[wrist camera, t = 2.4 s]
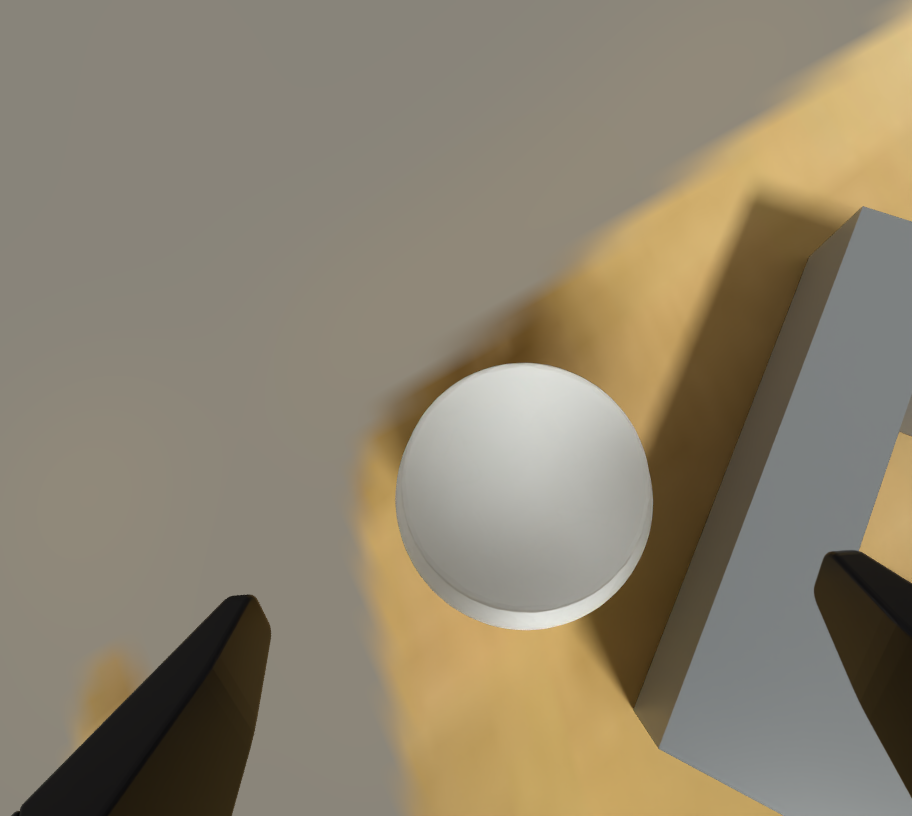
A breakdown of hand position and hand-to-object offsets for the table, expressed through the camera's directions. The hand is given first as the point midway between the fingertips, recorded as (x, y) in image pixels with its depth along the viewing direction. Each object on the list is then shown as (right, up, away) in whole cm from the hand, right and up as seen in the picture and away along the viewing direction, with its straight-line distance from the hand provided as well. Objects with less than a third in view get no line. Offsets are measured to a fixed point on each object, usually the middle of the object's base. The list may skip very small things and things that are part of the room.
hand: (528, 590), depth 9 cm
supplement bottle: (+1, 0, +10) cm, 10 cm away
